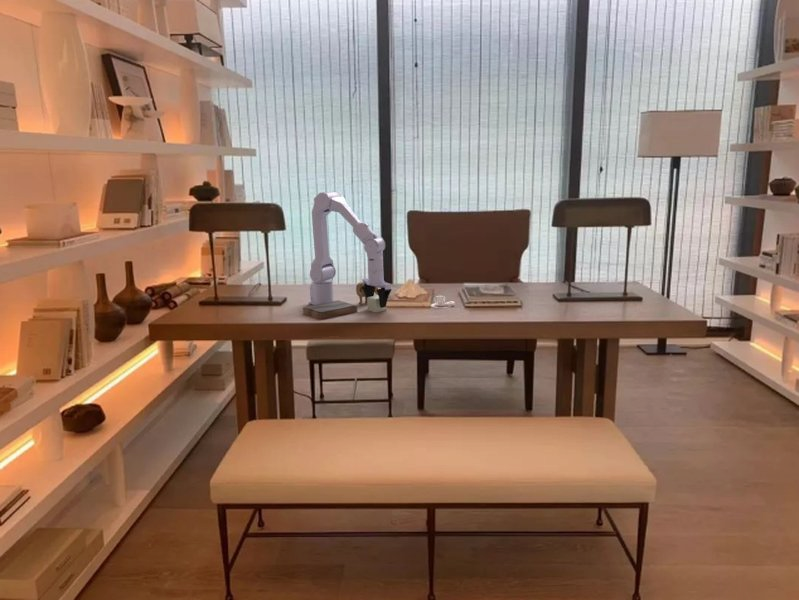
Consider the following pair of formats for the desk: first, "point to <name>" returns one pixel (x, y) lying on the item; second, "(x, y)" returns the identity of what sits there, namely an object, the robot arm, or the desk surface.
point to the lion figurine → (362, 292)
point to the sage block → (374, 304)
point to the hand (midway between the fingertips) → (376, 305)
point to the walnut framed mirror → (329, 309)
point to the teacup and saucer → (442, 302)
